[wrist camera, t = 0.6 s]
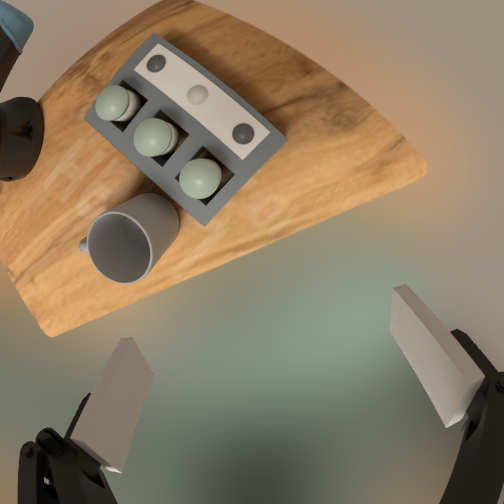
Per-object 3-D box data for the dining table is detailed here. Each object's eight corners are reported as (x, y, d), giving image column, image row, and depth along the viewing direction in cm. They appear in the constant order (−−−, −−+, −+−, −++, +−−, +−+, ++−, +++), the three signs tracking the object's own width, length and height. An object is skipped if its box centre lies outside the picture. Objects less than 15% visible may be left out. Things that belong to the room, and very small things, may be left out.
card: (134, 70, 25) (133, 69, 24) (159, 43, 24) (157, 42, 23) (242, 160, 29) (242, 160, 29) (270, 132, 28) (270, 132, 28)
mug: (174, 187, 35) (144, 204, 25) (184, 247, 38) (161, 283, 28) (100, 201, 35) (56, 221, 25) (113, 254, 38) (76, 288, 28)
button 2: (106, 111, 28) (89, 108, 24) (126, 85, 27) (111, 78, 23) (126, 128, 29) (110, 127, 25) (147, 102, 28) (133, 96, 24)
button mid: (141, 141, 29) (126, 141, 25) (163, 114, 28) (150, 110, 24) (164, 162, 30) (152, 164, 26) (187, 135, 29) (177, 133, 25)
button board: (100, 120, 31) (83, 118, 27) (163, 43, 27) (153, 32, 23) (210, 217, 36) (204, 226, 32) (283, 141, 33) (288, 139, 28)
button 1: (181, 176, 31) (171, 181, 27) (204, 150, 30) (197, 150, 26) (207, 199, 32) (200, 206, 28) (230, 173, 31) (227, 177, 27)
